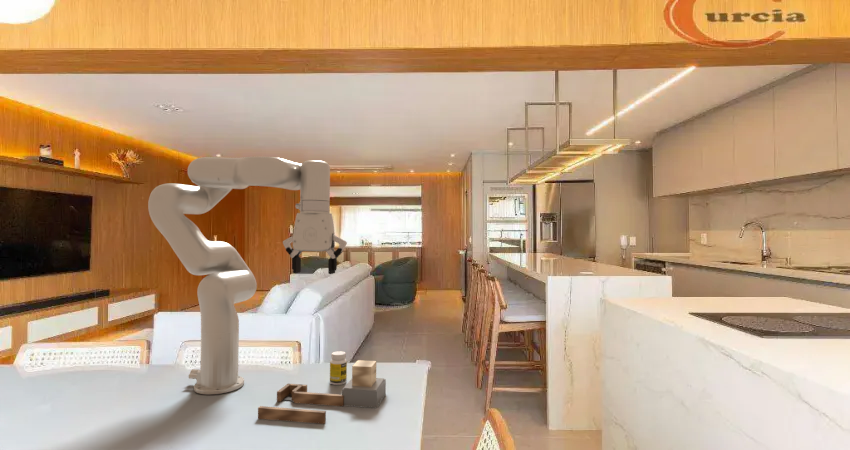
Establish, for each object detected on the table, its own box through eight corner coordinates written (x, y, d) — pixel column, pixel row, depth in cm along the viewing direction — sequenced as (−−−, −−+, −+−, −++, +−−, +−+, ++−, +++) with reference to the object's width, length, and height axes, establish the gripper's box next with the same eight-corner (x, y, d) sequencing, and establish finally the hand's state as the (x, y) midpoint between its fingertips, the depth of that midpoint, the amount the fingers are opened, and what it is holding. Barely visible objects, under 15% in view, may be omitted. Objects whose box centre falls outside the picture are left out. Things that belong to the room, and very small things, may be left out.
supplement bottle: (342, 386, 122) (343, 355, 122) (327, 384, 123) (327, 354, 123) (349, 380, 127) (349, 351, 127) (333, 379, 128) (334, 350, 128)
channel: (255, 418, 101) (256, 407, 101) (287, 392, 117) (287, 383, 117) (328, 424, 98) (328, 413, 98) (350, 397, 114) (350, 387, 114)
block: (352, 385, 110) (352, 366, 110) (357, 379, 115) (357, 360, 115) (371, 386, 110) (371, 367, 110) (376, 380, 115) (376, 361, 115)
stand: (341, 405, 109) (341, 388, 109) (353, 392, 118) (353, 376, 118) (376, 408, 107) (377, 390, 107) (385, 394, 116) (385, 378, 116)
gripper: (277, 207, 113) (276, 273, 112) (341, 207, 110) (340, 275, 110) (290, 208, 120) (289, 271, 120) (351, 208, 117) (350, 272, 117)
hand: (314, 273), depth 115 cm, fingers open, 9 cm apart
